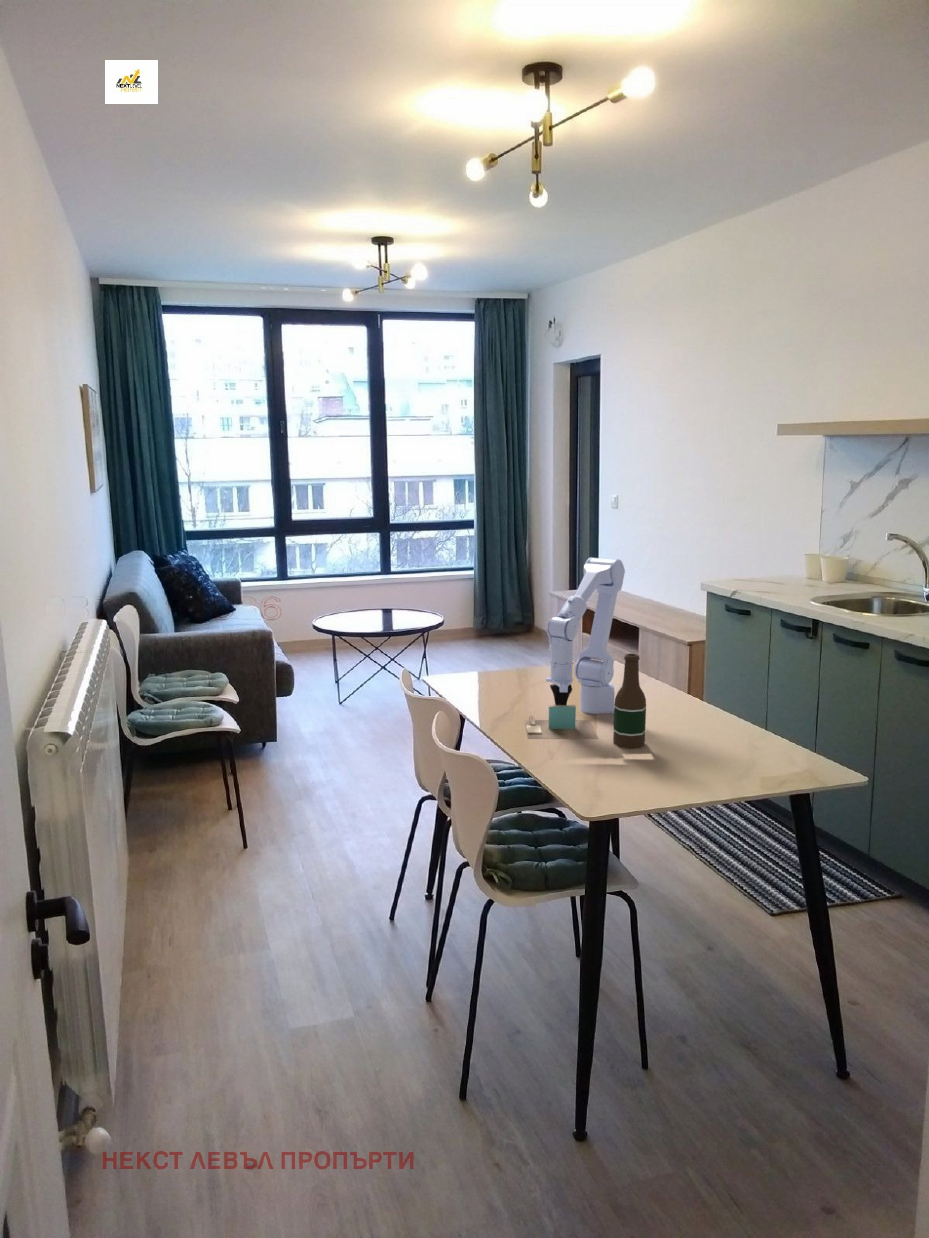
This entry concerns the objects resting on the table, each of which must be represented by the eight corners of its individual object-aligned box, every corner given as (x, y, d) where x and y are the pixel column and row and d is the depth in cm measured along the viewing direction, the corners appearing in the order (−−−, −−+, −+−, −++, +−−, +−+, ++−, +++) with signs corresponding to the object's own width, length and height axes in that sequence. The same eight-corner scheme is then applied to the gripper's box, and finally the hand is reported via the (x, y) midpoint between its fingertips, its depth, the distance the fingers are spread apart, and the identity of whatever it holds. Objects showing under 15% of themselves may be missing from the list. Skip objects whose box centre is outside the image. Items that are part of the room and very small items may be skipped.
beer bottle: (606, 747, 224) (609, 654, 219) (626, 741, 229) (629, 649, 224) (630, 755, 218) (634, 659, 213) (651, 748, 223) (654, 655, 218)
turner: (537, 718, 244) (537, 715, 244) (541, 734, 231) (541, 731, 230) (524, 718, 244) (524, 715, 244) (527, 734, 231) (527, 731, 230)
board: (590, 724, 243) (590, 720, 243) (598, 743, 227) (598, 738, 227) (524, 724, 243) (524, 720, 243) (527, 742, 227) (527, 738, 227)
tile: (574, 726, 237) (575, 705, 236) (575, 728, 235) (575, 706, 234) (548, 726, 237) (548, 705, 236) (548, 728, 235) (549, 706, 234)
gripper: (544, 656, 243) (543, 704, 246) (548, 668, 229) (547, 719, 231) (570, 656, 243) (569, 704, 246) (576, 668, 229) (575, 719, 231)
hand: (560, 711), depth 239 cm, fingers closed
